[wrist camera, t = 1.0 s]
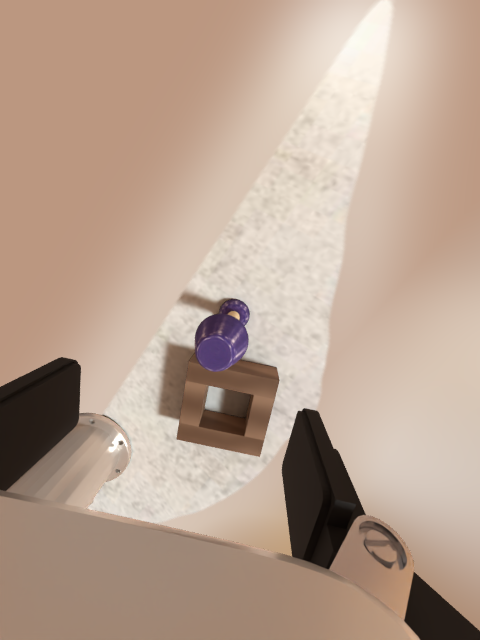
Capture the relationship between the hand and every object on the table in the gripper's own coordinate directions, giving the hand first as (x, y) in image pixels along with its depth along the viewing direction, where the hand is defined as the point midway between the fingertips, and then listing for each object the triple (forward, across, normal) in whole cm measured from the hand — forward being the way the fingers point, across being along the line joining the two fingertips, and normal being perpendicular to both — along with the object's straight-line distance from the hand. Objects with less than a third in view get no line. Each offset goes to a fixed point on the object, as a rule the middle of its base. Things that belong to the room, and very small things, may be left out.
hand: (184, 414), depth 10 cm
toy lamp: (+24, 0, +1) cm, 24 cm away
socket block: (+24, -2, +14) cm, 28 cm away
